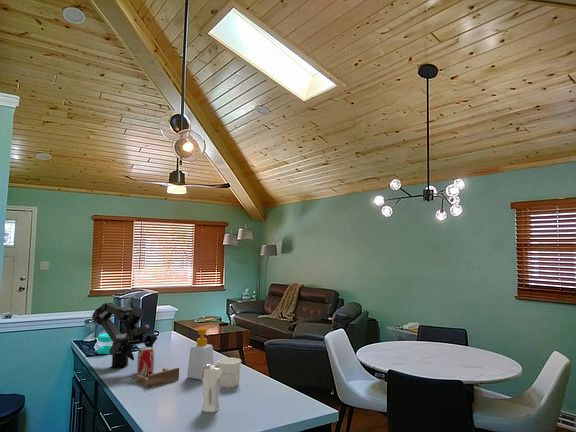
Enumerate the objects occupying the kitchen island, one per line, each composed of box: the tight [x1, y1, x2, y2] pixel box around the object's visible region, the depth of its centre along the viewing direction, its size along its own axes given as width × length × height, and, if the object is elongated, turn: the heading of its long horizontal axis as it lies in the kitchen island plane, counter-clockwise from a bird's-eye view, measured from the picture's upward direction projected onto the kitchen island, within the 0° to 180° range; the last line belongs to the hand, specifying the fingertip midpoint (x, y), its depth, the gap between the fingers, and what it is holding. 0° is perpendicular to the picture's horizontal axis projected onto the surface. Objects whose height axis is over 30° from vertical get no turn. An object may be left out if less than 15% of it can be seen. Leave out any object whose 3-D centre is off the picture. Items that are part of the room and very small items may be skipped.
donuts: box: [96, 333, 113, 355], centre depth 222 cm, size 10×10×10 cm
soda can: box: [136, 346, 155, 377], centre depth 182 cm, size 7×7×12 cm
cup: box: [217, 357, 242, 388], centre depth 172 cm, size 10×10×10 cm
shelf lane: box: [135, 367, 180, 389], centre depth 175 cm, size 11×14×5 cm
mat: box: [130, 372, 154, 379], centre depth 181 cm, size 9×9×1 cm
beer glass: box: [201, 363, 221, 414], centre depth 144 cm, size 7×7×15 cm
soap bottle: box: [186, 326, 215, 381], centre depth 184 cm, size 10×14×22 cm
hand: (142, 358), depth 183 cm, fingers open, 9 cm apart
